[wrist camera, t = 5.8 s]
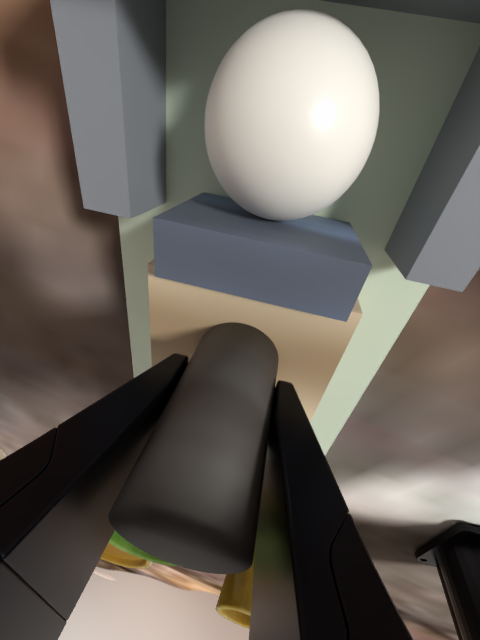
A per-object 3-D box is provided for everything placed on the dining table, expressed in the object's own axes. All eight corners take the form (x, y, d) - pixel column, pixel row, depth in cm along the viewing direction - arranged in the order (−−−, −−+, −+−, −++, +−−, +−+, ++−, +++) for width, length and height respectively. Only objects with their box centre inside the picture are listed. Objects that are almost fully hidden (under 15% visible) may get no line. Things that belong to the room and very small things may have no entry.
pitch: (311, 462, 19) (313, 564, 14) (145, 415, 20) (97, 497, 15) (601, -40, 6) (1369, -511, 2) (110, -101, 7) (-220, -503, 3)
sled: (307, 367, 13) (308, 625, 6) (183, 335, 13) (53, 540, 6) (364, 225, 9) (539, 480, 2) (190, 189, 9) (-99, 308, 3)
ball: (446, 37, 4) (405, 18, 6) (166, -4, 4) (234, -7, 7) (338, 266, 7) (339, 192, 9) (185, 232, 7) (226, 170, 10)
